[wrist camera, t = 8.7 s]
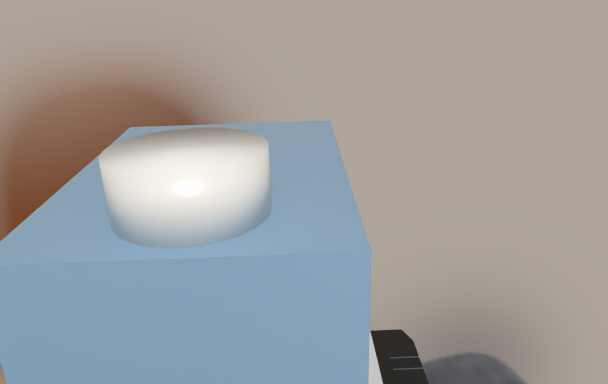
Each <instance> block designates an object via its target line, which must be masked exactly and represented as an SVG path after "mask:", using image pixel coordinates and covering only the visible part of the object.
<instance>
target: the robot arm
mask: <svg viewBox="0 0 608 384" xmlns="http://www.w3.org/2000/svg"><path fill="white" fill-rule="evenodd" d="M368 384H428V381H427V378H426V375H425V373H424V370H423V369H422V364H421V361H420V358H418V353H417V350H416V347H415V345H414V342H413V340H412V339H411V338H409V336H407V334H405V333H404V332H403V331H402V330H379V331H370V337H369V382H368Z"/></svg>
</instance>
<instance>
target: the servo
mask: <svg viewBox="0 0 608 384" xmlns="http://www.w3.org/2000/svg"><path fill="white" fill-rule="evenodd" d="M370 290H371V249H370V245H369V242H368V239H367V236H366V233H365V229H364V226H363V223H362V220H361V217H360V214H359V211H358V208H357V205H356V201H355V198H354V195H353V192H352V189H351V186H350V182H349V179H348V176H347V173H346V170H345V167H344V164H343V161H342V157H341V154H340V151H339V148H338V145H337V142H336V139H335V136H334V132H333V130H332V127H331V123H330V121H305V122H277V123H276V122H275V123H247V124H220V125H219V124H217V125H188V126H160V127H130V129H128V130H127V131H126V132H125V133H124V134H122V135H121V136H120V137H119V138H118V139H117V140H116V141H114V142H113V143H112V144H111V145H110V146H109V147H108V148H106V149H105V150H104V151H103V152H102V153H101V154H100V155H99V156H98V157H96V158H95V159H94V160H93V161H92V162H91V163H89V164H88V165H87V166H86V167H85V168H84V169H83V170H81V171H80V172H79V173H78V174H77V175H76V176H75V177H73V178H72V179H71V180H70V181H69V182H68V183H67V184H65V185H64V186H63V187H62V188H61V189H60V190H59V191H57V192H56V193H55V194H54V195H53V196H52V197H51V198H50V199H48V200H47V201H46V202H45V203H44V204H43V205H42V206H40V207H39V208H38V209H37V210H36V211H35V212H33V213H32V214H31V215H30V216H29V217H28V218H27V219H26V220H25V221H23V222H22V223H21V224H20V225H19V226H18V227H16V228H15V229H14V230H13V231H12V232H11V233H9V234H8V235H7V236H6V237H5V238H4V239H3V240H1V242H0V362H1V366H2V369H3V373H4V376H5V379H6V383H7V384H368V382H369V337H370V292H371V291H370Z"/></svg>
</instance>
